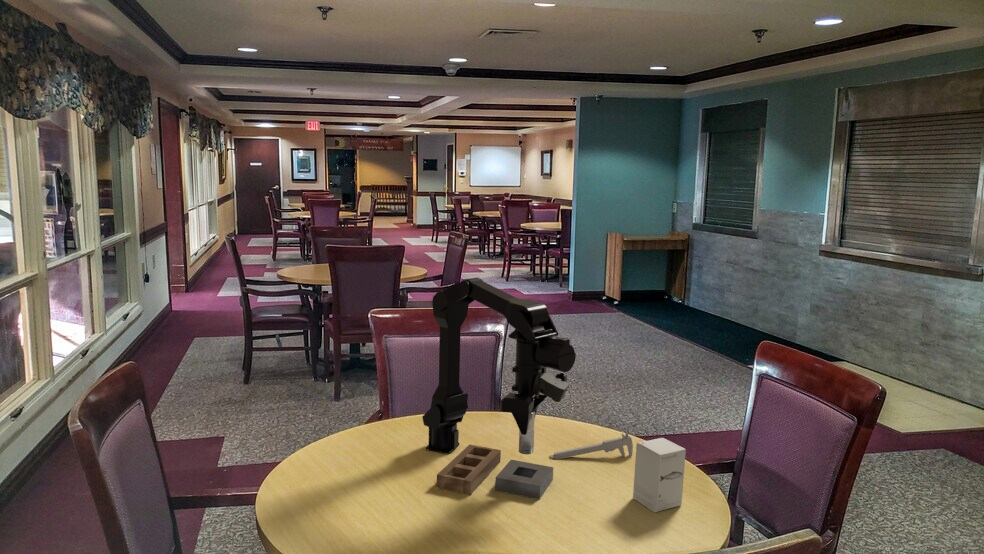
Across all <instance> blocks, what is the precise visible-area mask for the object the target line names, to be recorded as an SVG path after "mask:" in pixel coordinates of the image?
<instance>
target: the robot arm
mask: <svg viewBox="0 0 984 554" xmlns="http://www.w3.org/2000/svg"><path fill="white" fill-rule="evenodd" d="M431 301H432V302H431V304H432V312H433V313H432V315H433V317H434V319H435V321H436V323H437V324H438V327H439V350H438V351H439V356H438V357H439V360H438V363H439V364H438V385H437V387H436V389H435V391H434V393H433V395H432V396H431V404H430V408H429V409H428V410H427V411H426V412H425V413H424V414H423V415H422V417H421V418H422V423H423V426H425V427H428V445H427V446H425V450H426V451H430V452H437V453H441V454H447V455H449V454H451V453H452V452H453V451H455V449H456V448H458V447H459V446H460V442H459V434H460V433H459V429H458V423H462V421H463V418H464V416H465V415H466V413H467V409H469V406H468V399H469V394H468V392H464V391H463V390H464V389H463V388H462V387H461V386H460V379H461V378H460V371H461V368H460V367H461V365H460V364H461V334H462V333H461V328H462V325H463V324H464V322H465V320H466V318H467V316H468V312H469V306H470V305H471V304H472V303H473V302H475V301H476V302H478V303H479V304H481V305H483V306H485V307H487V308H489V309H491V310H492V311H495V312H497V313H498V314H500V315H502V316H503V317H504V318H505V320H506V322H507V324H509V326H510V327H512V328H514V331H512V332H511V333H509V334H508V338H510V339H513V340H515V341H516V342H515V344H516V345H515V365H514V366H513V367H511V368H512V373H515V374H514V384H513V385H512V386H511V392H508V394H507V395H506V396H504V397H503V398H502V399H501V400H500V401H499V411H501V412H506V413H507V412H508V413H511V414H512V417H513V419H514V421H515V423H516V425H517V428H518V431H519V430H520V432H521V434H523V435H526V434H527V430H528V425H529V420H530V415H531V412H533V411H535V417H536V416H537V412H538V409H539V406H540V404H541V403H543V402H544V401H545V400H546V399H547V398H550V399H551V400H552V401H553V402H556V403H560V402H561V401H562V400H563V399H564V398H565V396H566V393H567V390H568V389H569V386H570V385H569V384H570V382H569V381H568V375H567V373H568V372H569V371H571V370H572V368H573V367H574V365H575V361H576V357H577V355H576V352H575V348H574V346H573V345H571V339H570V338H569V337H560V336H559V332H558V329H557V328H556V326H555V324H554V322H553V320H552V317H551V316H550V313H549V311H548V307H547V306H546V305H545V303H543V302H540V301H536V300H533V299H525V298H519V297H516V296H513V295H512V294H510V293H507V292H505V291H503V290H501V289H499V288H497V287H495V286H493V285H492V284H489V283H487V282H486V281H484V280H483V279H482V278H479V277H471V278H470V277H469V278H465V279H463V280H461V281H460V282H458V283H456V284H455V285H452V286H451V287H448V288H446V289H444V290H439V291H436V293H435V294H434V295H433V296H432V300H431ZM547 369H551V370H555V371H558V373H557V374H556V375H555V374H554V373H551V374H550V373H548V372H547ZM513 392H514V393H513ZM516 392H517V393H516Z"/></svg>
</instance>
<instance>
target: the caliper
mask: <svg viewBox="0 0 984 554" xmlns="http://www.w3.org/2000/svg"><path fill="white" fill-rule="evenodd" d="M625 446H626V448H627V451H628V456H629V457H630V456H631V457H632V456H633V452H634V451H633V448H634V447H633V446H634V444H633V439H632V436H631V435H629V432H628V431H627V432H625V434H624V433H623V432H621V437H615V438H611V439H606V440H603V441H602V442H601V443H595V444H589V445H585V446H580V447H575V448H570V449H564V450H561V451H556V452H553V454H550V455H549V456H548V458H549V459H557V460H558V459H559V458H561V459H566V458H572V457H575V456H581V455H585V454H590V453H596V452H600V451H601V452H602V451H604V452H605V453H608V452H614V451H615V450H617V449H618V451H619V453H620V455H621V456H622V457H623V458H626V455H625V454H626V453H625V448H624V447H625Z"/></svg>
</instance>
